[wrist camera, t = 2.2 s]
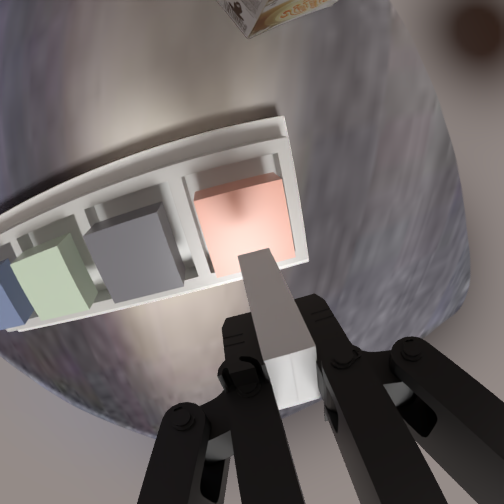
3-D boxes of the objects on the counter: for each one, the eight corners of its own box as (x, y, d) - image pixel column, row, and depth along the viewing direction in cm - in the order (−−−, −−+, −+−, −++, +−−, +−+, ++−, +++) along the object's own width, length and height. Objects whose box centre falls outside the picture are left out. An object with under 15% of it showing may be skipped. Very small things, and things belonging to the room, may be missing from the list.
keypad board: (-23, 228, 21) (-43, 243, 17) (277, 115, 22) (291, 115, 19) (25, 322, 27) (12, 342, 23) (302, 252, 28) (316, 272, 25)
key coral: (194, 191, 20) (193, 201, 17) (273, 172, 20) (282, 179, 18) (215, 261, 22) (217, 278, 20) (286, 242, 22) (295, 257, 20)
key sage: (23, 251, 19) (9, 264, 17) (70, 232, 19) (57, 245, 17) (51, 304, 22) (41, 320, 19) (98, 292, 22) (89, 309, 20)
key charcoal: (94, 223, 19) (82, 236, 17) (162, 201, 20) (156, 212, 17) (121, 285, 22) (114, 303, 20) (185, 269, 22) (184, 286, 20)
